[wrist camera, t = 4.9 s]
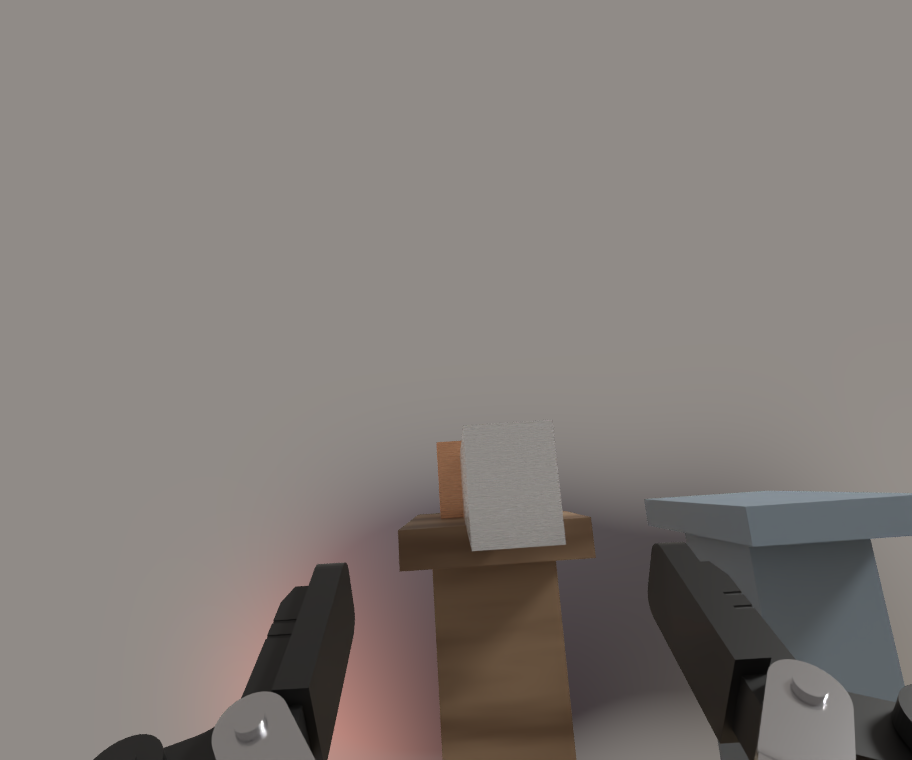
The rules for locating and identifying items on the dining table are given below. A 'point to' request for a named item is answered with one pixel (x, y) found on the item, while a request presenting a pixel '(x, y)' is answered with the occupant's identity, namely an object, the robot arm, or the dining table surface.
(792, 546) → the post
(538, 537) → the bar
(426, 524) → the walnut post
